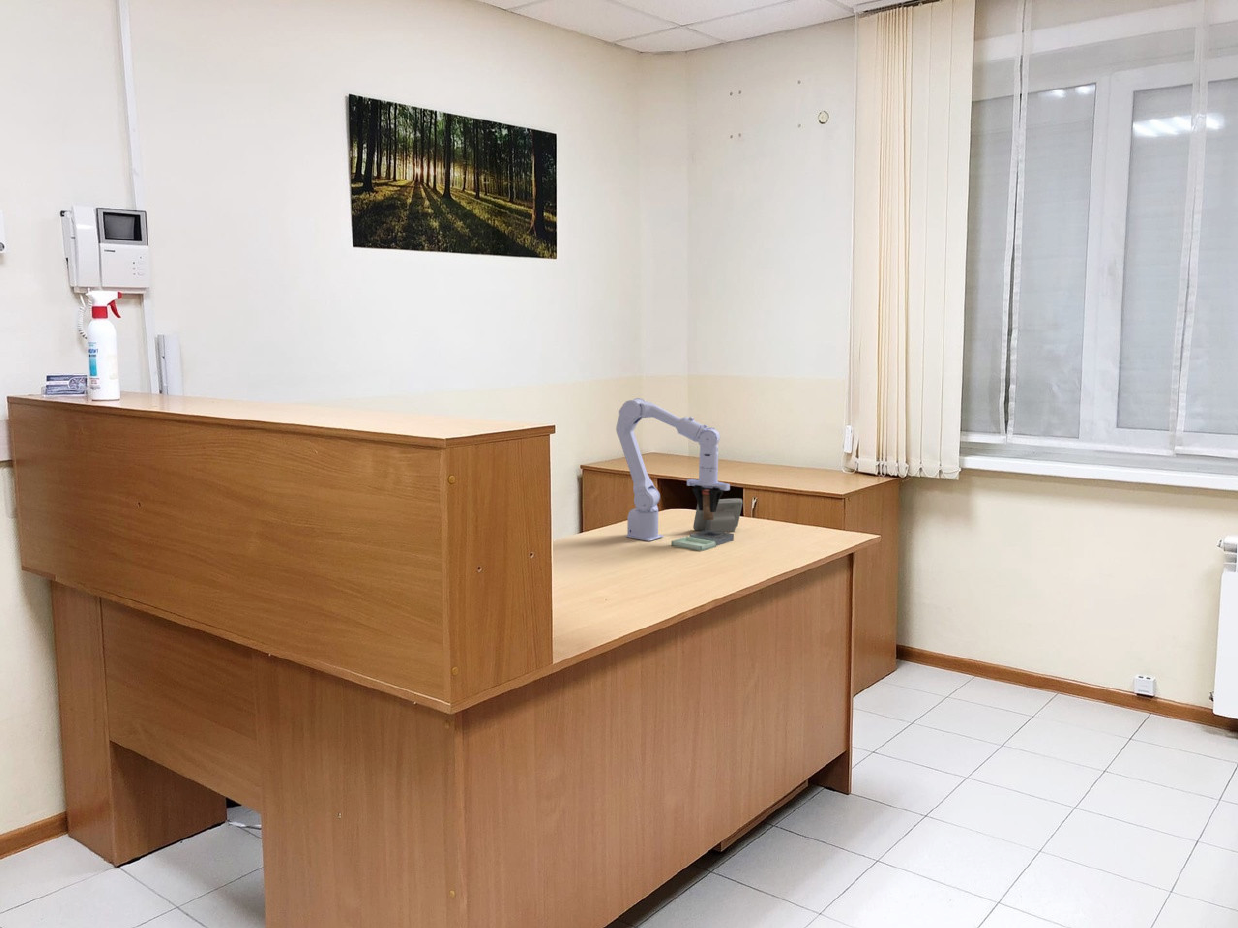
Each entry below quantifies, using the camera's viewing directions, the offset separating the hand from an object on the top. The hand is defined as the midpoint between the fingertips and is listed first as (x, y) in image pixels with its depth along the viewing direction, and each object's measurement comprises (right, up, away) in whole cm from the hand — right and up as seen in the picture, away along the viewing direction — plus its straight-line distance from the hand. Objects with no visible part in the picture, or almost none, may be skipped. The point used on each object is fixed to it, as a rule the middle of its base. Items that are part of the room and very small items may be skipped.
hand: (707, 510), depth 307 cm
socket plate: (+2, -9, +3) cm, 10 cm away
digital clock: (+5, -8, +19) cm, 21 cm away
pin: (0, -3, 0) cm, 3 cm away
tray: (-5, -11, -4) cm, 12 cm away
